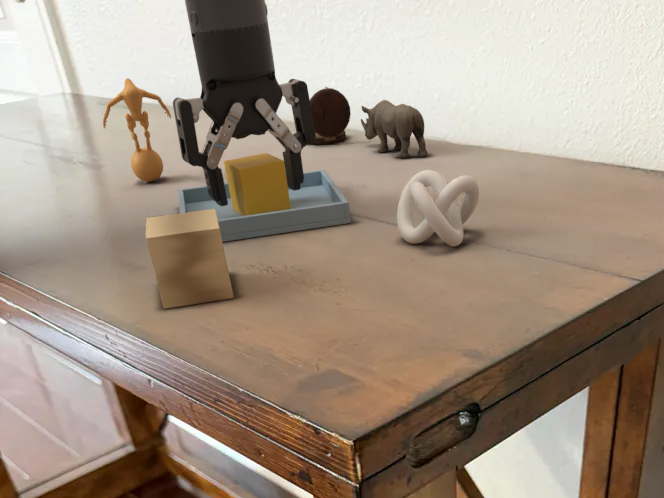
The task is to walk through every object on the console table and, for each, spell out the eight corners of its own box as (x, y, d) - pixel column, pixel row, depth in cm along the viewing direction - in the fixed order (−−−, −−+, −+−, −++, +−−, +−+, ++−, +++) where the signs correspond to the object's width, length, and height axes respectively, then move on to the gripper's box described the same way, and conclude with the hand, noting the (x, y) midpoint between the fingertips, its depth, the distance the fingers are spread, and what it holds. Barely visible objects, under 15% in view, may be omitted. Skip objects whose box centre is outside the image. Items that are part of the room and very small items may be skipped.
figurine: (179, 172, 108) (156, 70, 101) (188, 182, 104) (165, 75, 97) (116, 183, 106) (88, 79, 99) (123, 193, 102) (94, 85, 94)
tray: (186, 247, 83) (181, 226, 81) (181, 208, 94) (177, 189, 93) (351, 223, 85) (348, 202, 84) (326, 188, 97) (324, 169, 96)
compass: (339, 133, 121) (332, 77, 117) (354, 143, 115) (348, 85, 111) (287, 141, 119) (278, 85, 115) (300, 151, 113) (292, 93, 109)
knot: (456, 221, 83) (454, 160, 80) (498, 241, 77) (498, 176, 74) (390, 236, 81) (385, 174, 77) (429, 258, 75) (425, 191, 71)
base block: (163, 309, 70) (145, 238, 66) (163, 285, 74) (145, 217, 71) (233, 298, 70) (219, 227, 67) (228, 275, 75) (215, 208, 71)
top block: (248, 219, 87) (239, 169, 84) (232, 209, 90) (223, 161, 87) (291, 209, 89) (283, 160, 86) (274, 200, 92) (266, 152, 89)
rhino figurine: (377, 140, 115) (373, 93, 112) (434, 155, 106) (431, 103, 103) (352, 146, 114) (347, 98, 110) (408, 161, 104) (405, 109, 101)
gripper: (282, 11, 84) (304, 177, 94) (146, 28, 79) (185, 202, 89) (311, 14, 78) (332, 190, 88) (167, 33, 74) (206, 218, 83)
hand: (258, 196), depth 89 cm, fingers open, 8 cm apart
